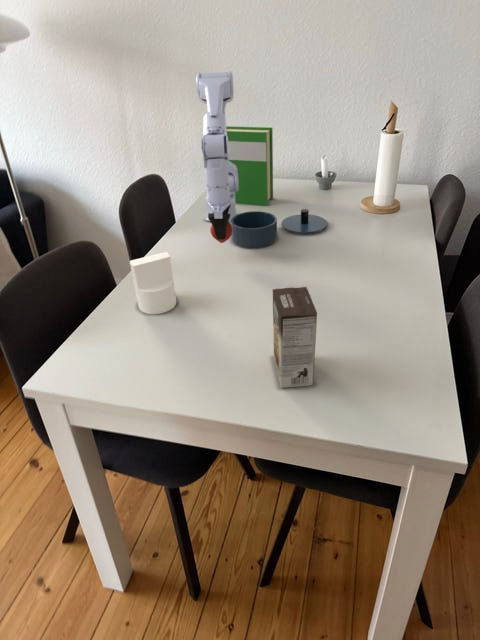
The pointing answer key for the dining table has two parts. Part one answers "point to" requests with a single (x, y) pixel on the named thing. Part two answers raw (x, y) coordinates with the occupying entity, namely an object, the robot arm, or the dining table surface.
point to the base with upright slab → (154, 283)
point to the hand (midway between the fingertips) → (221, 233)
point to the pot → (254, 229)
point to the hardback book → (252, 163)
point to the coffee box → (294, 336)
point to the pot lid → (304, 223)
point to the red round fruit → (228, 233)
